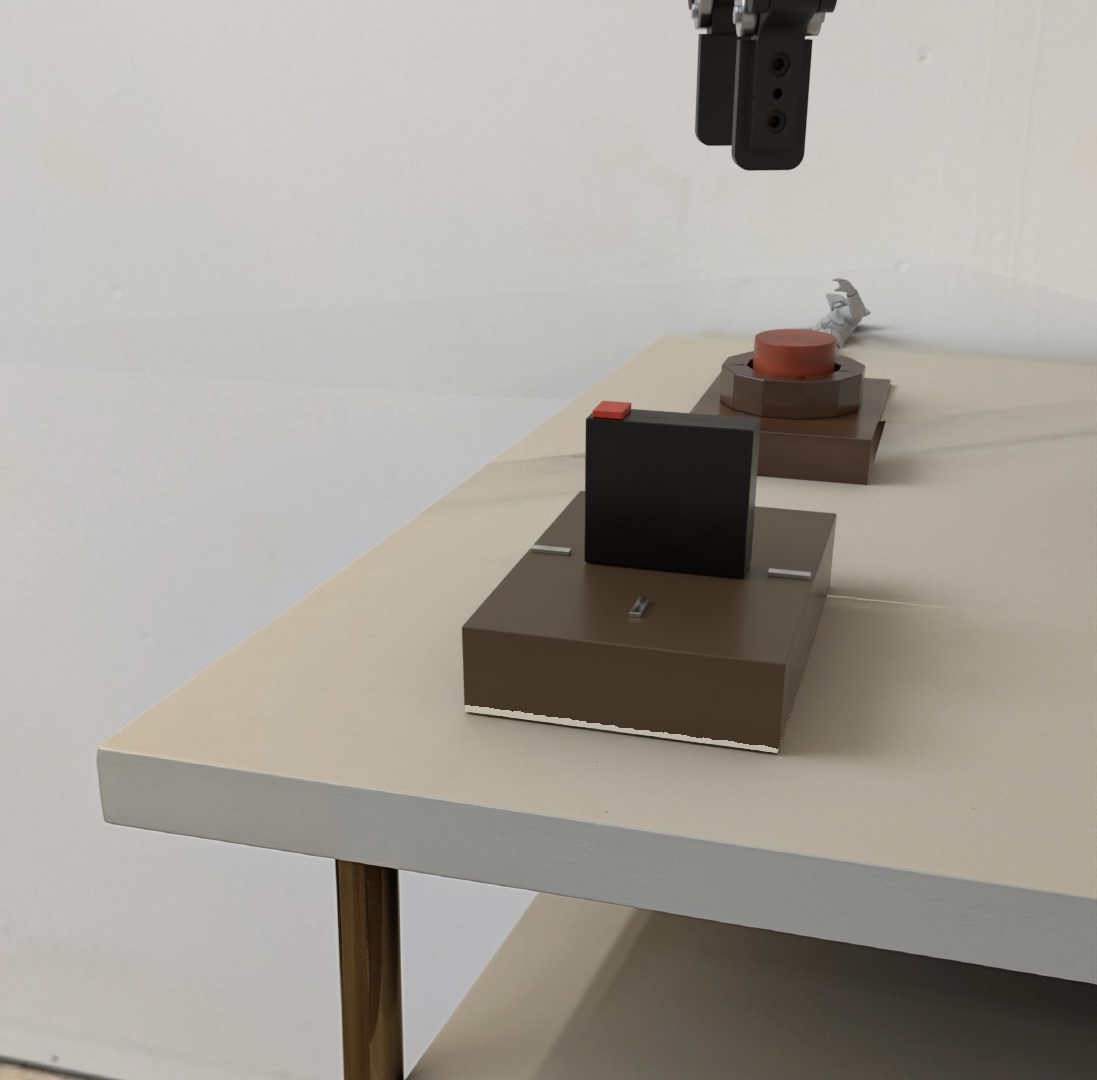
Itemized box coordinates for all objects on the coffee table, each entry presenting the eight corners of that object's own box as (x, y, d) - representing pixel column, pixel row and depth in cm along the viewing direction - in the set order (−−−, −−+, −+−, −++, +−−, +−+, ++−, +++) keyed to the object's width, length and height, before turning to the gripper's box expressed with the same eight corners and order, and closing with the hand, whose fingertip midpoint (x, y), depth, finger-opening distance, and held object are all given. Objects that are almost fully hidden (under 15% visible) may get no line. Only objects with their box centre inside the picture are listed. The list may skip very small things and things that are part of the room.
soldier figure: (716, 409, 81) (760, 306, 89) (776, 463, 82) (814, 357, 90) (812, 327, 76) (850, 225, 83) (874, 387, 77) (906, 281, 85)
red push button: (759, 361, 72) (761, 326, 71) (837, 366, 71) (841, 331, 70) (746, 379, 68) (749, 343, 68) (829, 385, 67) (832, 348, 67)
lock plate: (579, 561, 56) (580, 486, 55) (829, 587, 54) (837, 508, 52) (463, 713, 45) (460, 621, 43) (778, 754, 42) (786, 659, 41)
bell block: (720, 408, 77) (724, 334, 76) (886, 420, 75) (894, 344, 73) (676, 470, 67) (680, 387, 65) (866, 486, 65) (876, 400, 63)
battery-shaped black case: (751, 562, 48) (761, 410, 45) (743, 579, 46) (754, 423, 44) (595, 547, 49) (597, 398, 47) (583, 562, 48) (585, 410, 45)
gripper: (981, -521, 35) (907, 179, 42) (847, -384, 47) (808, 136, 55) (679, -523, 34) (659, 182, 42) (625, -384, 47) (617, 138, 54)
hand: (744, 156), depth 48 cm, fingers open, 8 cm apart
